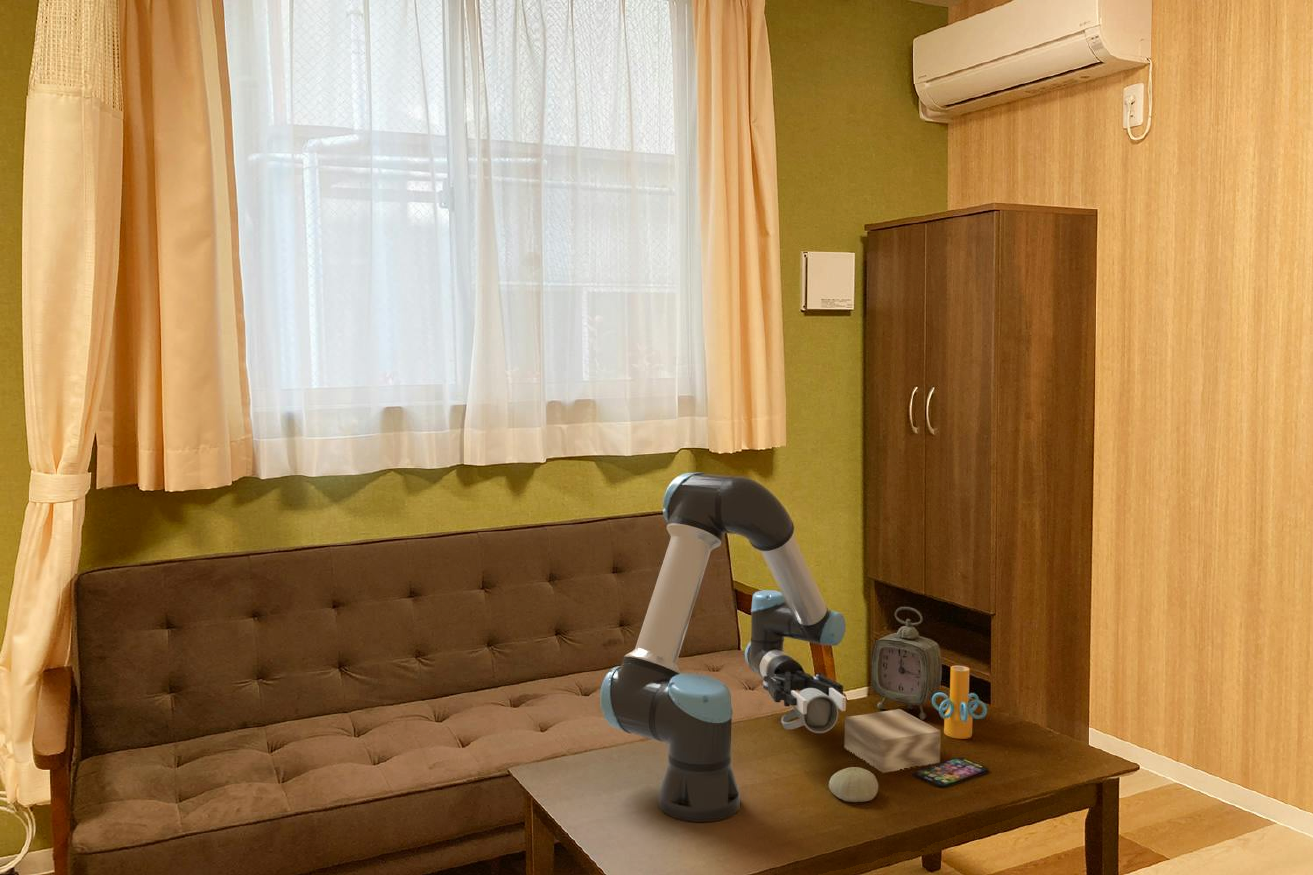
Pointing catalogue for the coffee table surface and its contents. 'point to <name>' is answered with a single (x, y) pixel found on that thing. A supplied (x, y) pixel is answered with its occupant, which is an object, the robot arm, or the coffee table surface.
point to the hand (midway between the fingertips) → (824, 705)
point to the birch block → (892, 740)
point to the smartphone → (950, 772)
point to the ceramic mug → (813, 712)
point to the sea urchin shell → (854, 784)
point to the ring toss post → (959, 705)
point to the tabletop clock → (906, 666)
